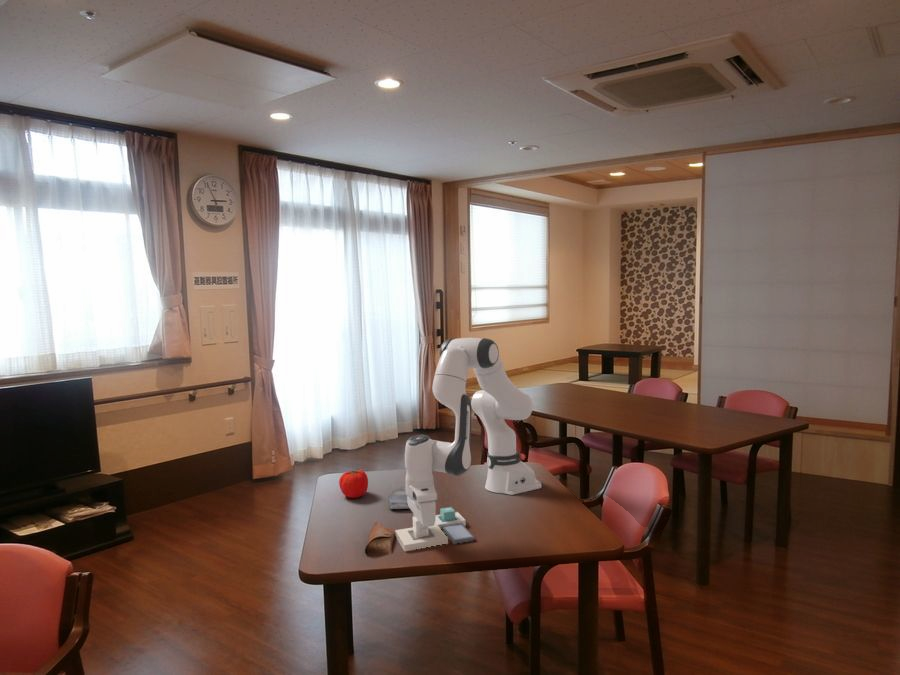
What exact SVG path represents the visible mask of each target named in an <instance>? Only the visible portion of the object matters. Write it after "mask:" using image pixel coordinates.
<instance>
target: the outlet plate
mask: <svg viewBox="0 0 900 675" xmlns="http://www.w3.org/2000/svg"><path fill="white" fill-rule="evenodd" d="M394 530H395V538H396V540H397V542H398V543H399V545H400V546H401V548H402V550H403V551H404V552H410V551H416V549H417V550H421V548H422V549H427V548H426V547H428V548H432V547H431V546H434V547H437V546H436V545H440V546H443V545H442V544H446V545H449V538H448V537H447V536H446V535H445V533H444V532H443V531H442V530H441V529H440V528H439V526H438V525H437V524H434V526H429V527H428V532H429V536H425V537H419V538H415V537H414V536H413V526H412V527H407V528H400V529H394Z"/></svg>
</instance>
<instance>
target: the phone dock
mask: <svg viewBox="0 0 900 675" xmlns="http://www.w3.org/2000/svg"><path fill="white" fill-rule="evenodd" d="M466 523H467V522H466V519H465V518H464V517H463V516H462V515H461V514H460V513H459V512H458V511H455V520H454V521H448V522H442V521H441V519H440V514H436V518H435V524H437V525H438V526H439V528H440V529H442V530H443V532H444V534H446V535H447V537H448V540H449V541H450V540H451V541H452V542H451V541H450V542H451V543H452V544H453V545H458V544H457V543H460V544H463V543H462V542H466V543H469V542H468V541H471V542H474V541H473V540H475V539H476V538H475V536H474V535H473V534H472V533H471V532H470V530H469V529H468V528H466V527H467V524H466Z"/></svg>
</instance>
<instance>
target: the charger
mask: <svg viewBox="0 0 900 675" xmlns="http://www.w3.org/2000/svg"><path fill="white" fill-rule="evenodd" d="M412 527H413V536H414V537H415V538H419V537H425V536H429V532H428V527H427V533H426V534H421V532H420V527H421V524H420V521H419V520H418V519H417V517H416V516H414V515H413V516H412Z"/></svg>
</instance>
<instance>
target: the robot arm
mask: <svg viewBox="0 0 900 675" xmlns="http://www.w3.org/2000/svg"><path fill="white" fill-rule="evenodd" d="M499 352H500V351H499V347H498V345H497V343H496V342H495V341H494V340H493V339H490V338H486V337H485V338H482V337H469V336H468V337H459V338H456V337H453V338H449V339H445V340H444V342H442V344H441V345H440V347H439V360H438V362H437V366H436V368H435V373H434V376H433V381H432V385H431V387H432V390H431V391H432V394H433V397H434V398H435V399H436V400H437V401H438V402H439V403H440V404H441V405H444V406H445V407H446V408H448V409H450V410H451V411H452V412H453V414H454V415H455V427H454V428H455V430H454V440H453V442H448V441H441V440H437V439H436V440H435V439H432V438H430V436H429V435H427V434H416V435H413V436H411V437H409V438H408V439H407V440H406V443H405V449H404V467H405V472H406V474H405V478H404V479H405V481H404V482H405V486H406V494H407V504H408V507H409V508H410V511H411V512H412V514H413V517H414V516H416V517H417V519H418V520H419V521H420V524H421V527H420V532H421V534H426V533H427V527H429V526H434V524H435V518H436V515H437V513H436V512H437V507H436V506H437V504H436V501H437V500H438V493H437V491H436V488H435V483H434V475H433V471H435V472H439V473H445V474H448V475H452V476H455V477H459V476H462V475H464V474H465V473H466V472H467V471H468V470H469V469H470V468H471V466H472V465H471V464H472V447H471V441H472V438H471V436H472V414H473V413H472V411H473V412H474V413H475V415H477V416H478V417H479V419H480V420H481V421H482V423H483V425H484V428H485V431H486V435H487V448H488V449H487V450H488V451H487V458H486V462H487V475H486V481H485V486H484V488H485V490H486V491H488V492H491V493H496V494H506V495H509V496H510V495H511V496H512V495H513V496H514V495H518V494H521V493H526V492H530V491H534V490H539V489H541V488H542V483H541V481H540V480H538V479H537V478H536V475H535V474H536V473H535V472H534V469H532V468H531V467H530V466H529V465H527V464H526V463H525V462H523V461H522V460H525V459H526V455H525V454H524V453H520V452H518V451H517V434H516V432H515V430H514V429H512V427H510V426H509V425H508V424H507V423H506V421H505V420H512V421H521V420H526V419H528V418H529V417H530V416H531V415H532V413H533V407H534V406H533V405H534V404H533V401H532V398H531V397H530V395H528V394H526V393H525V392H523V391H522V390H520V389H519V388H518V387H517V386H516V385H515V384H514V383H513V382H512V381H511V380H510V378H509V377H508V375H507V372H506V370H505V366H504V364H503V362H502V359H501V356H500V353H499ZM469 369H473V372H474V374H475V378H476V380H477V383H478V385H479V387H480V389H481V390H477V391H476V392H474V393H473V395H472V398H470V397H469V396H468V394H467V390H466V385H467V379H468V372H469V371H468V370H469Z"/></svg>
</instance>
